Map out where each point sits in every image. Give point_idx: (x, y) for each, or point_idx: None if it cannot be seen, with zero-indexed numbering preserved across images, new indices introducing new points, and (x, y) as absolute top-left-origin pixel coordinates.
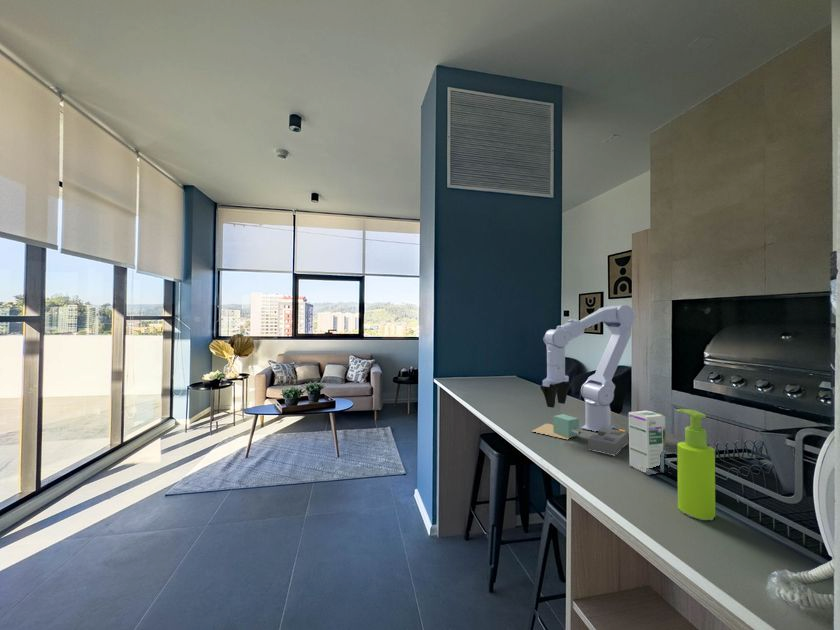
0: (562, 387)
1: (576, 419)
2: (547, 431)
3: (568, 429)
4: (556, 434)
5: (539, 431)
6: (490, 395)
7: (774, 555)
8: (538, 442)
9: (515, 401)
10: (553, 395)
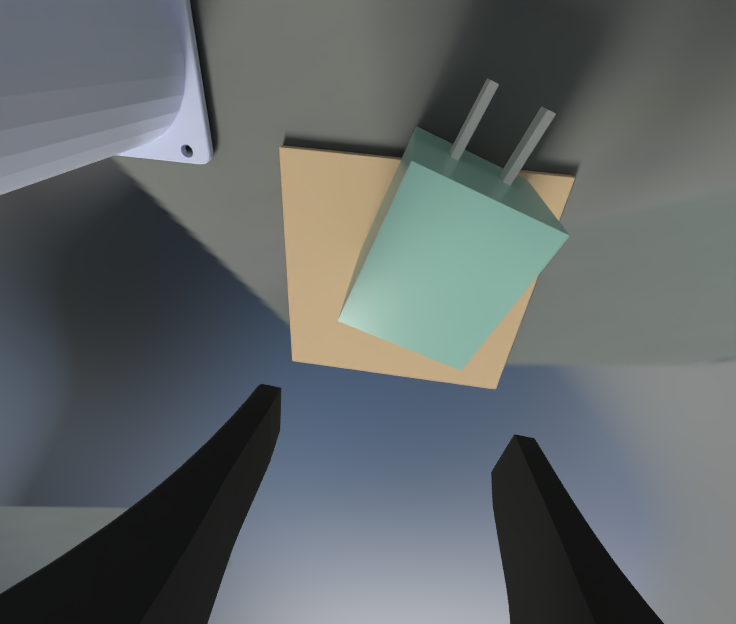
0: (178, 620)
1: (451, 177)
2: None
3: (544, 202)
4: None
5: (478, 357)
6: None
7: None
8: (685, 318)
9: (71, 507)
10: (652, 614)
